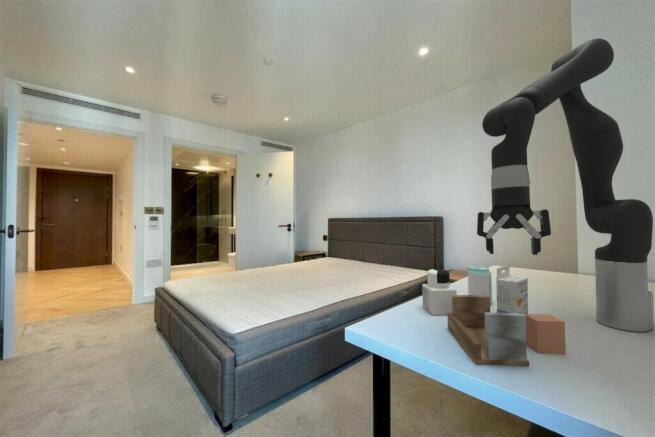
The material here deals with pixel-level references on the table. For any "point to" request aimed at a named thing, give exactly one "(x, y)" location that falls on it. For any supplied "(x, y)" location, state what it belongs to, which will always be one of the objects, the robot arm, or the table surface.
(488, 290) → the can
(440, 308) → the container
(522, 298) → the ink box
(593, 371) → the table surface
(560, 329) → the book
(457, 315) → the shelf
